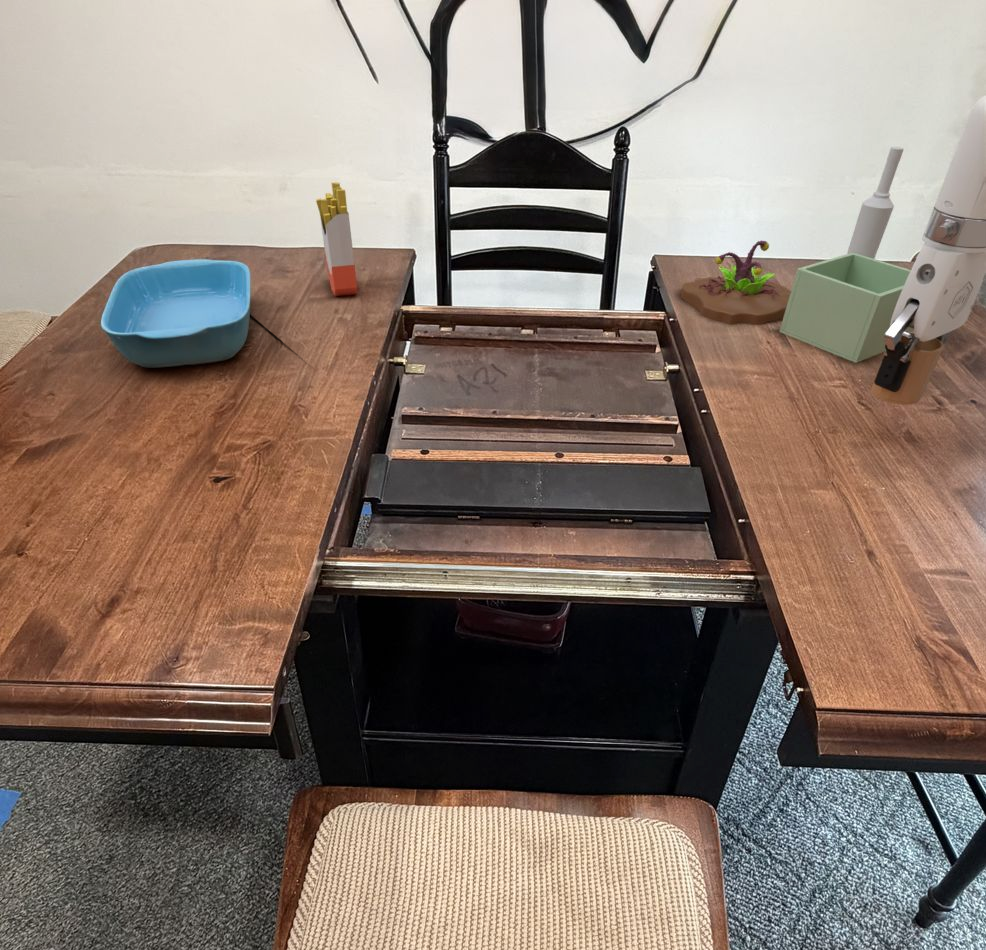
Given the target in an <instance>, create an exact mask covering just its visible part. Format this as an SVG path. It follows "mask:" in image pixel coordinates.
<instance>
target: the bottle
mask: <svg viewBox="0 0 986 950" xmlns="http://www.w3.org/2000/svg"><path fill="white" fill-rule="evenodd" d="M904 150H905V147H900V146H891V147H890V148H889V152H888V155H887V158H886V162H885V165H884V167H883V171H882V174H881V176H880V180H879V183H878V186H877V189H876V190H875V191H874V192H873V194H872V195H871V196H869V197H868V198H867V199H866V200H864V201H863V202H862V203H861V207H860V210H859V213H858V216H857V220H856V223H855V225H854V230H853V233H852V236H851V240H850V242H849V245H848V250H847V253H846V254H849V253H856V254H859V255H863V256H866V257H869V258H873V259H876V255H877V253H878V250H879V247H880V245H881V242H882V239H883V236H884V234H885V232H886V229H887V226H888V223H889V221H890V218H891V215H892V213H893V211H894V208H895V205H894V203H893V201H892V200H891V198H890V196H891V194H890V189H891V187H892V184H893V181H894V178H895V176H896V172H897V170H898V167H899V165H900V162H901V159H902V156H903V152H904Z"/></svg>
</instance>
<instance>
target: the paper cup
mask: <svg viewBox="0 0 986 950" xmlns="http://www.w3.org/2000/svg"><path fill="white" fill-rule="evenodd" d="M909 333H911V334H914V331H913V332H909ZM910 340H911V339H908V338H905V337H903V336H902V337H901V342H903V343H904V345H905V349H906V347H907V346H908V344H909V342H910ZM944 348H945V344H943V342H942V341H940V340H939V339H937V338H934V339H932V340H929V341H926V342H923V341H919V343H918V344H917V346H916V348H915V349H914V351H913V353H912V354H911V356H910V358H909V359H908V361H911V364H910V366H909V368H908V371H907V373H906V376H905V378H904V380H903V383H902V385H901V388H900V390H899V391H897V392H892V391H890V390H887V389H885V388H882V387H880V386H878V385H876V384H875V383H874V382H873V384H872V386H871V394H873V395H874V396H875V397H876V398H877V399H879V400H882V401H884V402H887V403H890V404H895V405H903V406H909V405H914V404H917V403H919V402H920V401H921V400H922V398H923V395H924V393H925V391H926V388H927V386H928V384H929V382H930V380H931V378H932V375H933V373H934V371H935V369H936V366H937V364H938V361H939V359H940V357H941V355H942V353H943V350H944ZM883 358H884V356H883ZM883 358H882V359H883ZM881 363H882V361H881ZM881 363H880V364H881ZM878 371H879V369H877V372H878ZM876 376H877V374H876V375H875V377H876Z"/></svg>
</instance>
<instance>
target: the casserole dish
mask: <svg viewBox="0 0 986 950" xmlns="http://www.w3.org/2000/svg"><path fill="white" fill-rule="evenodd" d="M251 279H252V277H251V270H250V268H249V266H248V265H247V264H246V263H243V262H240V261H236V260H220V259H219V260H218V259H217V260H215V259H205V258H199V259H197V258H195V259H194V258H193V259H183V260H173V261H166V262H163V263H158V264H153V265H147V266H141V267H138V268H134V269H131V270H129V271H126V272H124V274H122V275H121V276H120V277H119V278H118V279H117V280H116V282H115V284H114V286H113V288H112V290H111V292H110V295H109V297H108V299H107V302H106V304H105V306H104V308H103V309H104V310H103V312H102V315H101V318H100V326H101V329H102V330H103V331H104V332H105V334H106V335H107V336H108V338H109V339H110V341H111V342H112V344H113V345H114V346H115V349H117V350H118V352H119V353H120V354H121V355H122V356H123V357H124V358H125V359H127V360H128V361H129V362H130V363H132V364H135V365H138V366H140V367H142V368H148V369H149V368H150V369H151V368H154V369H155V368H157V369H158V368H169V367H171V368H172V367H181V366H185V365H188V366H191V365H200V364H210V363H217V362H222V361H227V360H229V359H232V358H234V357H235V355H237V353H239V351H241V349H242V348H243V347H244V345H245V343H246V341H247V338H248V333H249V327H250V317H251V316H250V314H251V289H252V288H251V285H252V284H251V283H252V280H251Z"/></svg>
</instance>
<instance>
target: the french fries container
mask: <svg viewBox="0 0 986 950" xmlns="http://www.w3.org/2000/svg"><path fill="white" fill-rule="evenodd" d="M331 191H332V194H331V192H328V193H327V192H326V193H325V198H317V199H315V202H316V205H317V208H318V211H319V219H320V226H321V233H322V241H323V247H324V249H323V250H324V254H325V262H326V270H327V276H328V279H329V285H330V289H331V291H332V292H333V295H334V297H341V296H352V295H353V296H354V295H358V282H357V275H356V274H357V272H356V265H355V256H354V248H353V239H352V231H351V222H350V215H349V212H348V204H347V195H346V190H345V189H344V188H342V187H341V184H340V182H337V181H336V182H331Z"/></svg>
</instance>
